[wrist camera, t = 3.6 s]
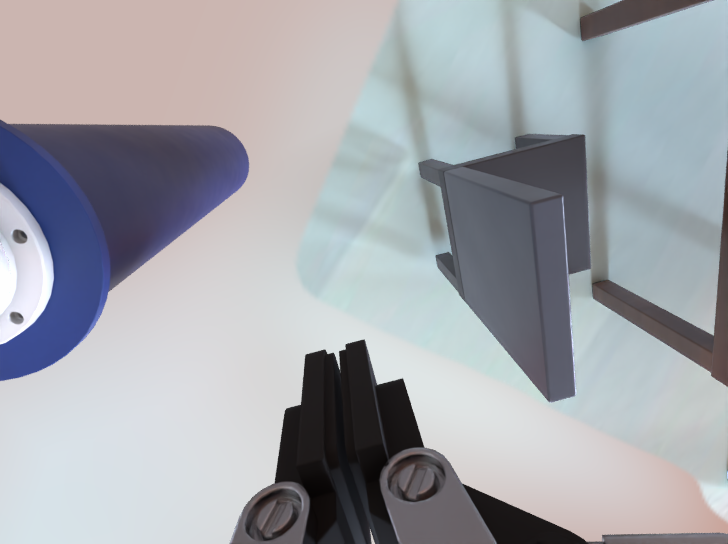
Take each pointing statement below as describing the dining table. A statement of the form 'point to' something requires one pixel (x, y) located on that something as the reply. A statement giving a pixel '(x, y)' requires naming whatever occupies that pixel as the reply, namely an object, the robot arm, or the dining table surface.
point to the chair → (520, 248)
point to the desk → (723, 350)
